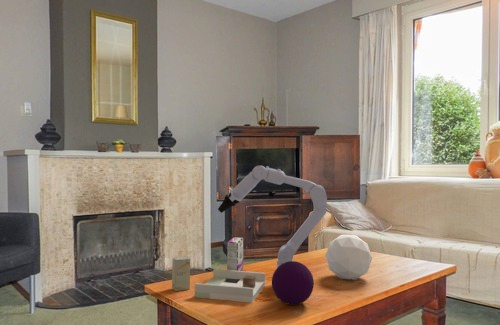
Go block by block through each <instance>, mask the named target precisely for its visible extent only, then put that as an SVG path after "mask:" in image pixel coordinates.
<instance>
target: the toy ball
mask: <svg viewBox="0 0 500 325" xmlns="http://www.w3.org/2000/svg"><path fill="white" fill-rule="evenodd" d="M314 283H315V282H314V276H313V274H312V272H311V270H310V269H309V268H308V267H307V266H306V265H305V264H303V263H301V262H299V261H295V260H293V261H289V262H285V263H283V264H281V265H280V266H279V267H278V268H277V267H276V269H275V270H274V271H273V273H272V276H271V287H272V291H273V293H274V295H275V296H276V298H277V299H278V300H279V301H281V302H282V303H284V304H287V305H291V306H296V305H299V304H302V303H304V302H306V301H307V300H308V299H309V298H310V296H311V295H312V293H313V290H314Z"/></svg>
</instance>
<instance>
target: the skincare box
mask: <svg viewBox="0 0 500 325" xmlns="http://www.w3.org/2000/svg"><path fill="white" fill-rule="evenodd" d="M171 265H172V266H171V267H172V268H171V269H172V271H171V288H172V290H173V291H175V292H178V291H186V290H188V291H189V290H190V288H191V282H190V281H191V258H190V257H188V256H180V257H172V264H171Z"/></svg>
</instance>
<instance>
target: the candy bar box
mask: <svg viewBox="0 0 500 325" xmlns="http://www.w3.org/2000/svg"><path fill="white" fill-rule="evenodd" d="M226 243H227V244H226V249H227V252H226V254H227V255H226V258H227V259H226V262H227V265H226V266H227V267H226V268H227V269H226V270H234V271H244V237H236V236H235V237H232V238H230V240H228V241H227V242H226Z"/></svg>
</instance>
